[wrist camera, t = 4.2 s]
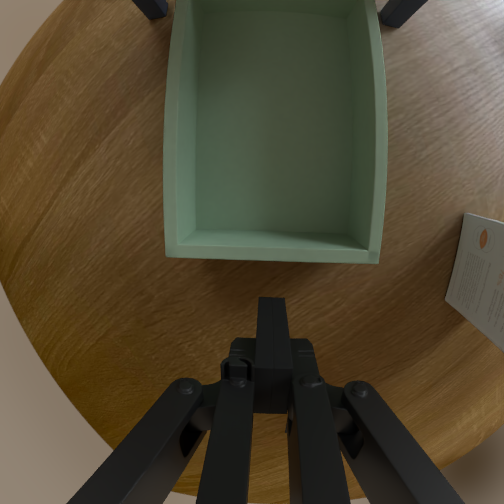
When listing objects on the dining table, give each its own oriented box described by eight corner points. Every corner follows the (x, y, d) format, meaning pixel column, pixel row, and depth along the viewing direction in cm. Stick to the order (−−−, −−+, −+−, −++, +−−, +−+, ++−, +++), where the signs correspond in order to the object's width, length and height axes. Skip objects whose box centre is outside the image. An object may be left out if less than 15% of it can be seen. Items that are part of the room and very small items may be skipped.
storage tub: (196, 12, 15) (180, -22, 11) (353, 17, 15) (372, -14, 10) (188, 237, 20) (165, 257, 15) (354, 242, 20) (378, 264, 15)
